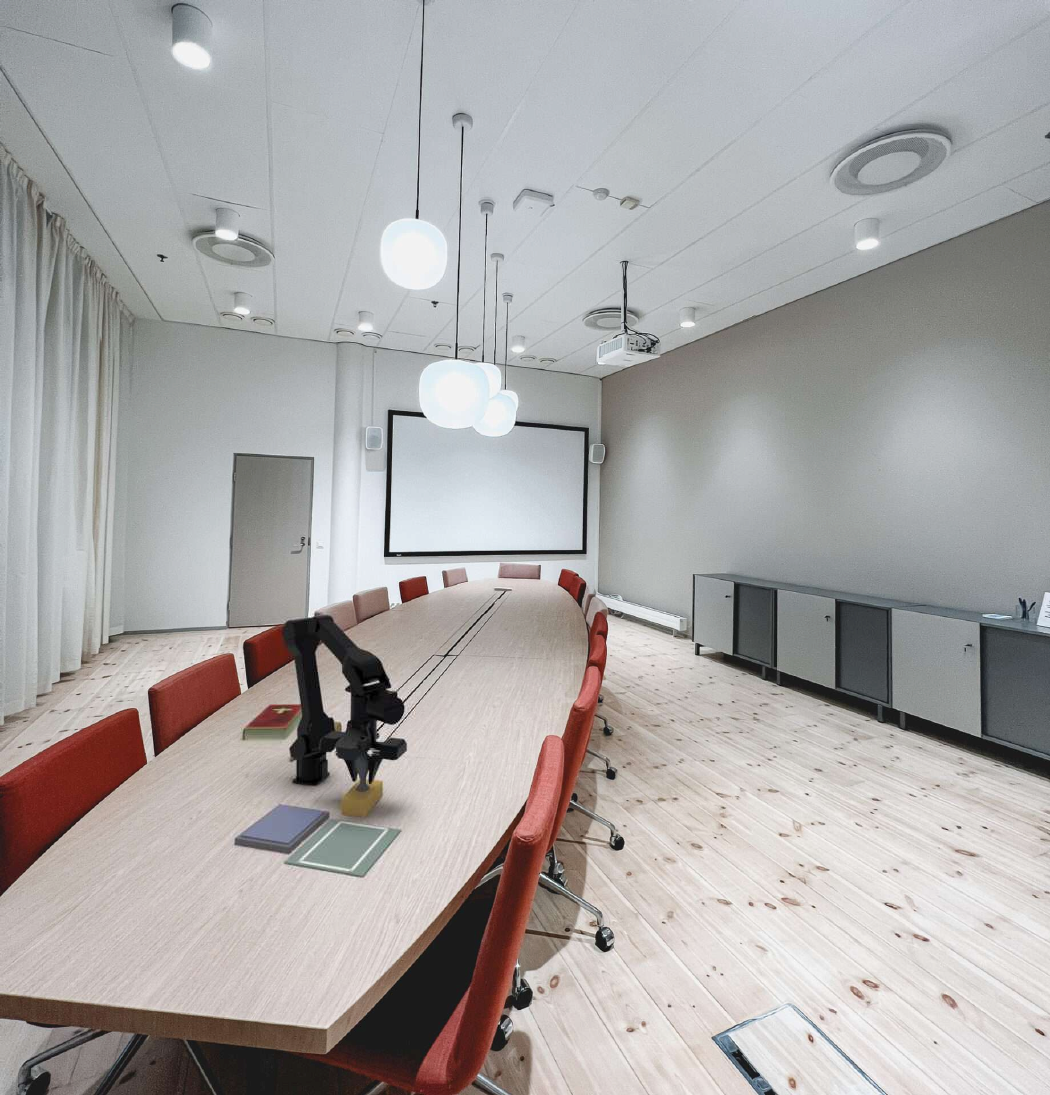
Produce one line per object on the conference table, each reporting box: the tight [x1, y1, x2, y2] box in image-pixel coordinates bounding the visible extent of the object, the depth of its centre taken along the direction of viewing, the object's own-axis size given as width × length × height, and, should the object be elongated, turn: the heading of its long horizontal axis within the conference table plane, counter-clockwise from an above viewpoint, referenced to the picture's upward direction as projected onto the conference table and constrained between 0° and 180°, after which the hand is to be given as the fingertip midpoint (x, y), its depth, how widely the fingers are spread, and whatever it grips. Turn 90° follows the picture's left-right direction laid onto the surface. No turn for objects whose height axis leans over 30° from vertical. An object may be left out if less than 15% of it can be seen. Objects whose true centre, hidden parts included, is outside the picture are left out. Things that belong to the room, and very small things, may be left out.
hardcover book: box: [242, 703, 302, 741], centre depth 175 cm, size 12×21×4 cm, turn 5°
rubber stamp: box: [340, 752, 384, 818], centre depth 130 cm, size 10×6×12 cm, turn 172°
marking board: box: [283, 818, 402, 878], centre depth 113 cm, size 16×16×1 cm
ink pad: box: [234, 803, 330, 854], centre depth 119 cm, size 12×14×2 cm
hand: (362, 782), depth 130 cm, fingers open, 4 cm apart
